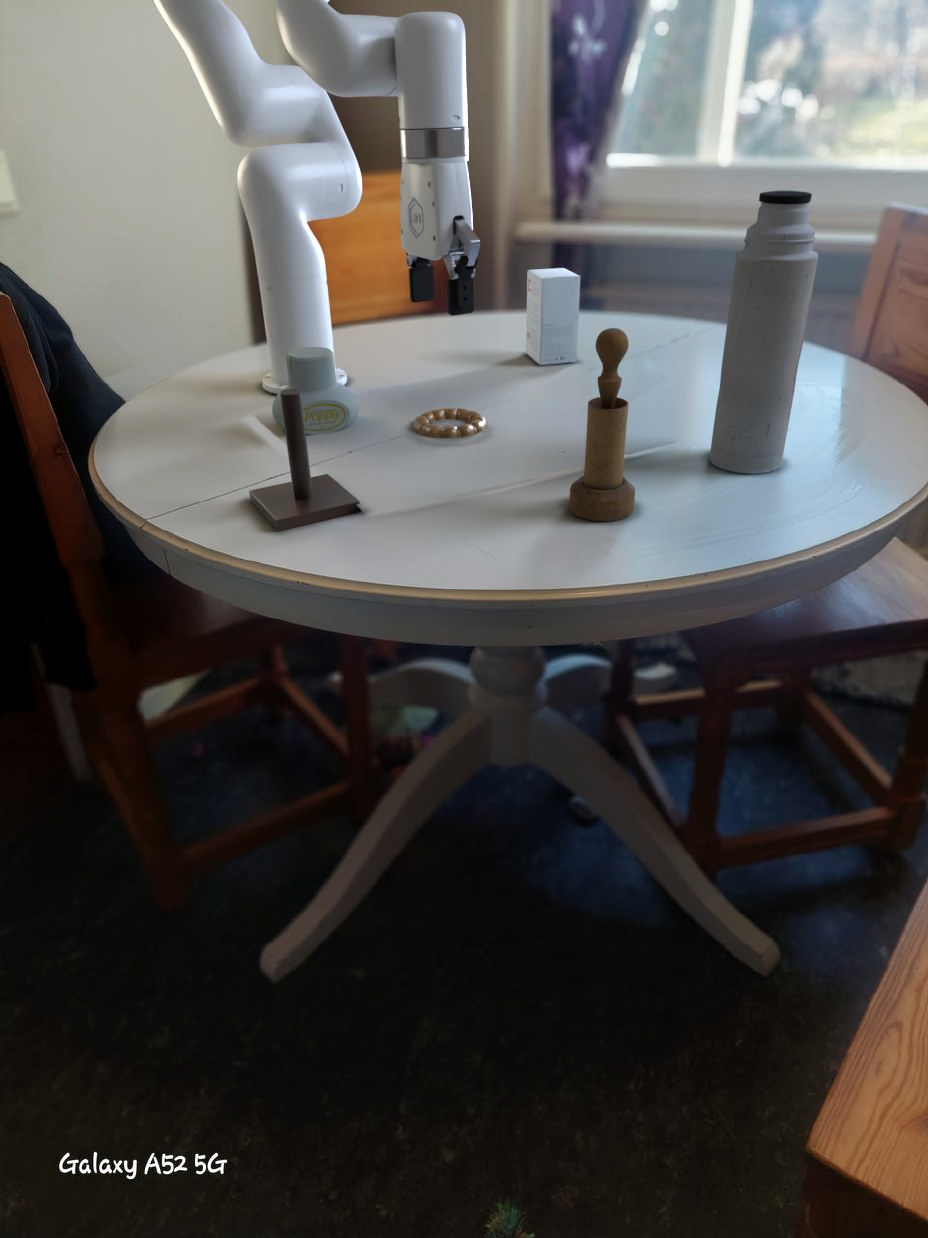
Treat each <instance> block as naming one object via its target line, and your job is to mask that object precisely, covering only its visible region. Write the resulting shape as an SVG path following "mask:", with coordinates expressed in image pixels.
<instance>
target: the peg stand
mask: <svg viewBox="0 0 928 1238" xmlns="http://www.w3.org/2000/svg"><path fill="white" fill-rule="evenodd" d="M280 397H281V405H282V412H283V420H284V427H285V429H284V435H285V441H286V442H285V443H286V450H287V458H288V464H289V472H290V479H291V481H288V482H287V481H286V482H283V483H279V484H274V485H269V486H264V487H260V488H255V489H250V490H248V493H249V500H250V502H251V503H252V504H253V505H254V506H255V508H256V509H257V510H258V511H259V512H260V513H261V514H262V516H263V517H265V519H266V520H267V521H268V522H269V523H270V524H271V526H273V527H274V529H275V530H276V531H277V532H280V531H284V530H288V529H293V528H297V527H301V526H302V527H303V526H307V525H309V524H315V523H318V522H323V521H327V520H330V519H335V518H339V517H344V516H348V515H352V514H356V513H357V514H358V513H360V512H361V508H360V507H359V506H358V505H359V504H360V503H361V501H360V500H359V499H358V498H356V496H354V495H353V494H352V493H350V491H348V490H347V489H346V488H344V486H342V485H341V484H340V483H339V482H338V481H336V480H335V479H334V478H333V477H332V476H330V474H328V473H324V474H319V475H316V476H315V475H314V476H311V467H310V459H309V451H308V441H307V435H306V433H305V425H304V416H303V408H302V400H301V391H300V390H297V389H287V390H283V391H281V392H280Z"/></svg>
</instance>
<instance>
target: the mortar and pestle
mask: <svg viewBox="0 0 928 1238" xmlns="http://www.w3.org/2000/svg"><path fill="white" fill-rule="evenodd" d="M628 349H629V338H628V336H627V334H626V332H625V331H623V330H622V329H621V328H618V327H610V328H609V327H608V328H605V329H604V330H601V332H600V333H599V334H598V336H597V337H596V340H595V351H596V353H597V355H598V358H599V360H600V363H601V364H602V371H601V374H600V375H599V376H598V377H597V388H598V392H599V396H598V397H594V398H591V399H590V400H588V401H587V418H586V437H585V454H584V467H583V475H582V476H580V477H579V478H578V479H577V480H575V481H574V482H573V483H572V484H571V485H570V488H569V499H568V509H569V511H570V512H571V513H572V514H573V515H575V516H576V517H578V518H581V519H583V520H587V521H592V522H612V521H613V522H614V521H619V520H623V519H626V518H628V517H630V516H631V515H632V514H633V512H634V509H635V501H636V500H635V498H636V488H635V486H634V485H633V484H632V482H629V480H628V479H627V478H626V477H624V467H625V466H624V465H625V454H626V453H625V450H626V440H627V426H628V417H629V416H628V415H629V401H627V400H626V399H624V398H621V397H618V395H619V391H620V389H621V385H622V381H623V378H622V377H621V376H620V375H619V371H618V370H619V366H620V364H621V362H622V361H623V359H624V358H625V356H626V354H627V352H628Z"/></svg>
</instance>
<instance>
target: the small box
mask: <svg viewBox="0 0 928 1238" xmlns="http://www.w3.org/2000/svg"><path fill="white" fill-rule="evenodd" d="M580 293H581V275H580V274H579V275H578V273H577V274H576V273H575V272H573V271H570V270H569V269H567V268H565V267H555V268H539V269H528V270H527V275H526V321H525V322H526V326H525V328H526V329H525V331H526V333H525V354H527V355H528V356H529V357H530V358H531V359H532V360H534V362H536V363H537V364H538V365H539V366H545V365H557V364H558V365H559V364H567V363H576V362H578V345H579V343H578V342H579V322H580V321H579V320H580V319H579V318H580V298H581V297H580V296H581V295H580Z"/></svg>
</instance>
